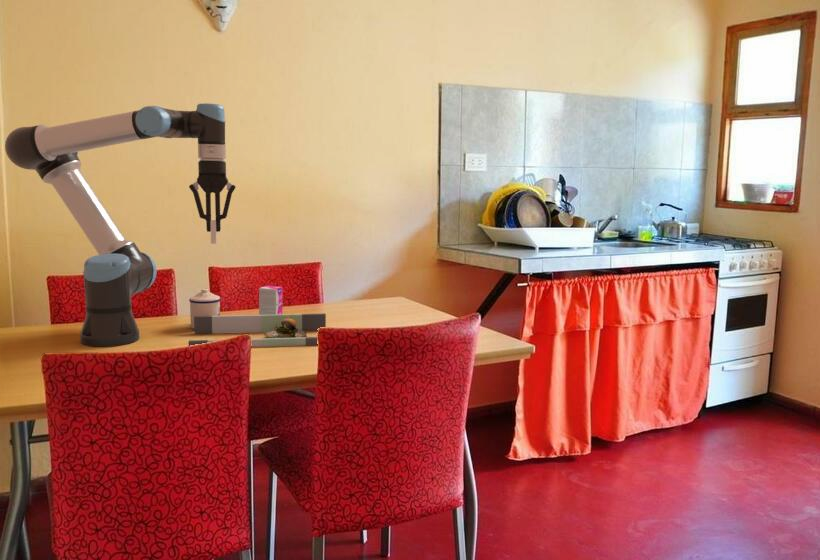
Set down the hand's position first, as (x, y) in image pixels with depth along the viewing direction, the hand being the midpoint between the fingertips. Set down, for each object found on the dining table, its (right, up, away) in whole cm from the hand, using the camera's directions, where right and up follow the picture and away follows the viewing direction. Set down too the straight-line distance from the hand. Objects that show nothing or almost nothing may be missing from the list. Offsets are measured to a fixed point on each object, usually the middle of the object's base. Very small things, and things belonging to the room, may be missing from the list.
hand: (213, 243), depth 207 cm
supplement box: (+13, -24, +18) cm, 33 cm away
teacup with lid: (-6, -25, +12) cm, 28 cm away
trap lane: (+14, -27, -2) cm, 31 cm away
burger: (+21, -28, -1) cm, 35 cm away
